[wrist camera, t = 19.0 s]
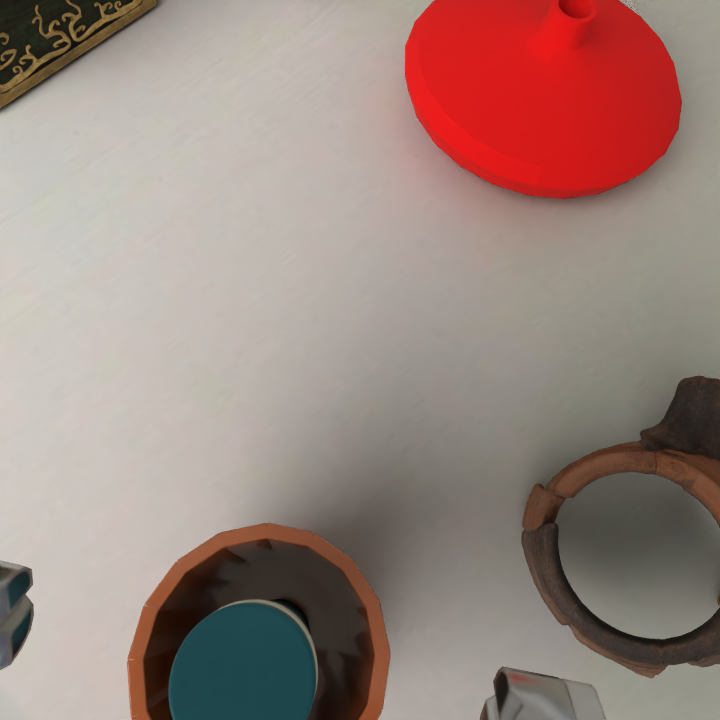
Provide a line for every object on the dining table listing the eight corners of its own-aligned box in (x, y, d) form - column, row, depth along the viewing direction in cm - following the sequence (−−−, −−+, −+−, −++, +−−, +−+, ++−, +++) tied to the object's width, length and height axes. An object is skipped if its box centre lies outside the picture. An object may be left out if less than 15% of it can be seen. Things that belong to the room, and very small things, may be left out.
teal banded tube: (316, 663, 23) (332, 748, 10) (247, 680, 23) (172, 792, 10) (304, 591, 24) (304, 585, 11) (238, 606, 24) (157, 618, 11)
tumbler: (371, 701, 23) (415, 770, 14) (207, 744, 22) (138, 849, 13) (339, 537, 26) (360, 503, 16) (189, 569, 25) (119, 552, 15)
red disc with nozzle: (536, -10, 40) (581, -129, 33) (705, 150, 36) (794, 51, 29) (344, 77, 35) (353, -40, 29) (512, 271, 31) (566, 186, 25)
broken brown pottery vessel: (738, 684, 25) (775, 749, 18) (519, 600, 30) (479, 626, 22) (789, 412, 27) (842, 372, 20) (573, 372, 31) (552, 327, 24)
